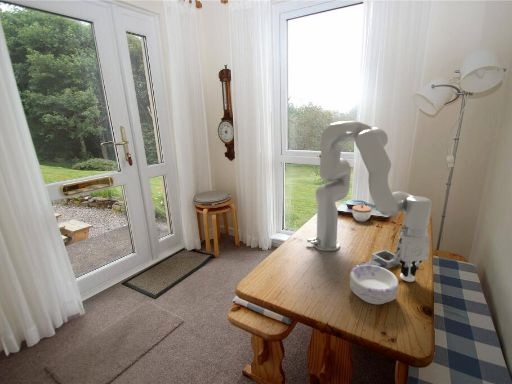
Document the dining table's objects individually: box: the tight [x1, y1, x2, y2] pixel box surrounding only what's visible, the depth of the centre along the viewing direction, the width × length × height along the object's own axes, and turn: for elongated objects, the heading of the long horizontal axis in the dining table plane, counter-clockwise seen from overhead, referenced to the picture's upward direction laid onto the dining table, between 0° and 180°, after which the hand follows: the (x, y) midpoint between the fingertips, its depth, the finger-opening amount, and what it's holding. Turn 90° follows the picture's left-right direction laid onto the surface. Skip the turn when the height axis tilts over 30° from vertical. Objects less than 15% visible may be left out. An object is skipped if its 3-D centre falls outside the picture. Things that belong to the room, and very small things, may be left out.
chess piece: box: [399, 261, 416, 283], centre depth 97 cm, size 5×5×10 cm
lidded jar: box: [352, 204, 373, 223], centre depth 155 cm, size 11×11×9 cm
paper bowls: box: [349, 265, 400, 305], centre depth 89 cm, size 15×15×8 cm
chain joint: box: [354, 249, 401, 270], centre depth 110 cm, size 30×8×3 cm, turn 113°
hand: (407, 273), depth 98 cm, fingers closed on chess piece
